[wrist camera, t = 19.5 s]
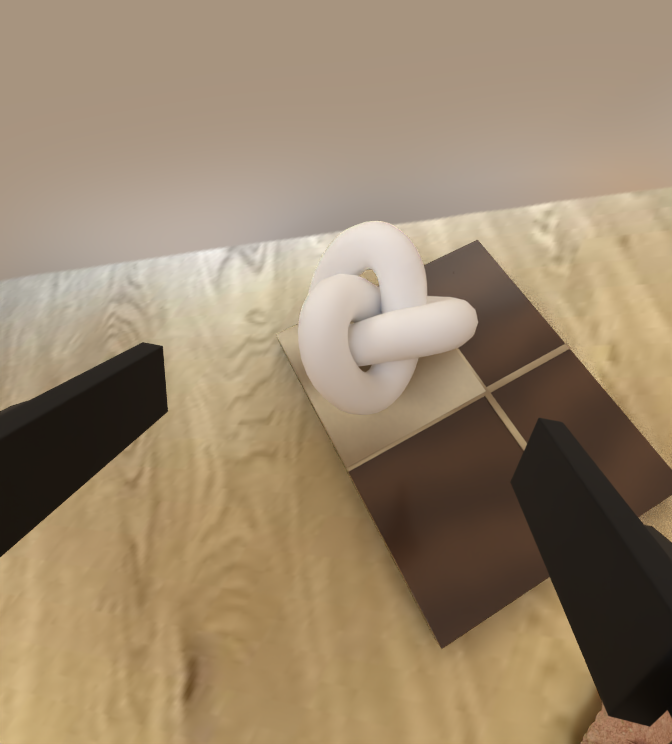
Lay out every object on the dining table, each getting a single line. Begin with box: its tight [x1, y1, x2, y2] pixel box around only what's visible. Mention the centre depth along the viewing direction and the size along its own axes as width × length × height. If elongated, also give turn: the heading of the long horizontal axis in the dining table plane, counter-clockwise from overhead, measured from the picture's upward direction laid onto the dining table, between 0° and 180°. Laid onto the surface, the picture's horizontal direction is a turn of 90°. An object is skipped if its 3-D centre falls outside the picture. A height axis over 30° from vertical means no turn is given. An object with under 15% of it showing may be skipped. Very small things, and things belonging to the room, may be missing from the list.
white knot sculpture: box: [298, 221, 478, 415], centre depth 24 cm, size 11×12×9 cm
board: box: [276, 240, 672, 648], centre depth 28 cm, size 24×20×2 cm
